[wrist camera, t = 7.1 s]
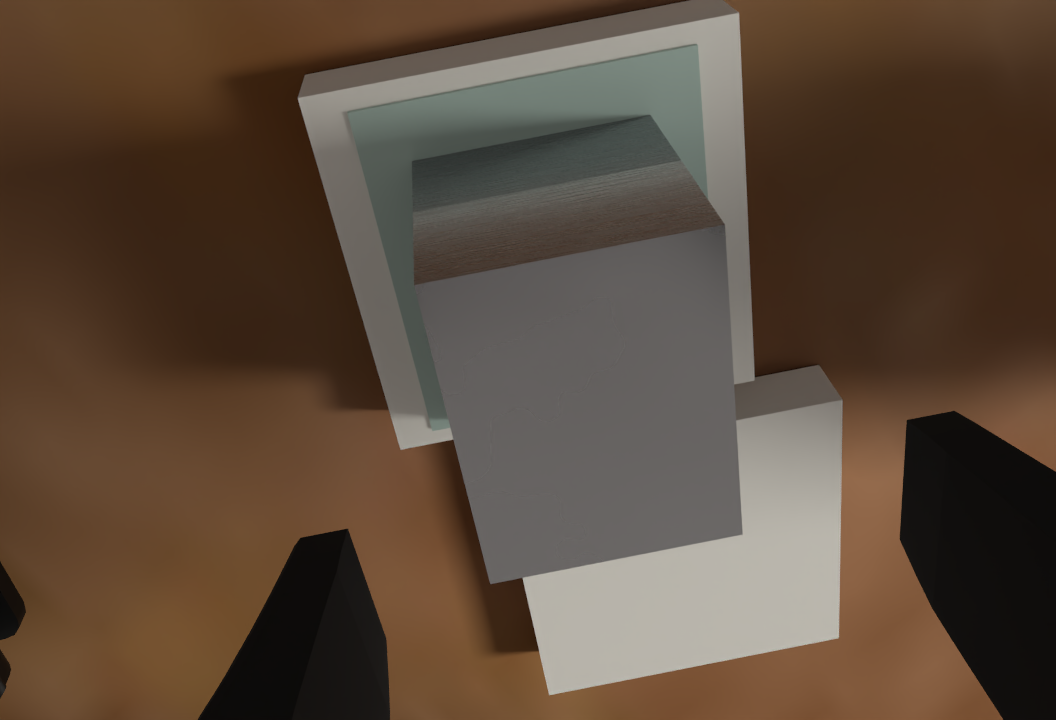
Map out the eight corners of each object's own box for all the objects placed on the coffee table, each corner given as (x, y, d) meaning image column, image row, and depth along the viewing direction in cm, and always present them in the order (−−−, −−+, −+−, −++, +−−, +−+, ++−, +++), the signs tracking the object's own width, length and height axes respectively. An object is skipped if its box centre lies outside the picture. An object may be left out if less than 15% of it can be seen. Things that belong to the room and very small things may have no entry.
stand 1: (716, -5, 19) (740, 13, 17) (735, 345, 23) (756, 382, 22) (304, 74, 19) (297, 99, 17) (400, 411, 23) (400, 452, 22)
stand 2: (819, 364, 24) (842, 399, 22) (819, 597, 28) (838, 637, 27) (492, 428, 23) (497, 467, 22) (542, 651, 28) (549, 695, 26)
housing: (650, 114, 18) (725, 224, 14) (675, 380, 21) (742, 534, 17) (411, 160, 18) (413, 284, 14) (473, 419, 21) (490, 583, 17)
